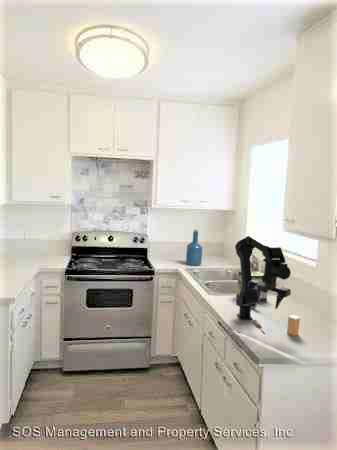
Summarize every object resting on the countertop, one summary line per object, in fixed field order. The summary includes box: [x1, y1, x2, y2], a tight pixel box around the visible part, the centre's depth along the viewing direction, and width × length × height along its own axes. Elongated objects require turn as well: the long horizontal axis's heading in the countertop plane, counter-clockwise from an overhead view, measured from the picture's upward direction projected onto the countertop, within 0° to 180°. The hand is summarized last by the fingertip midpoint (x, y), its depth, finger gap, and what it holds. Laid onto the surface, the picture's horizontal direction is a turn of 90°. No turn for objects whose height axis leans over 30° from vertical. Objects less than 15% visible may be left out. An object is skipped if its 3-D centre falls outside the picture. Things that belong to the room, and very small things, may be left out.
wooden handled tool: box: [251, 319, 266, 335], centre depth 170 cm, size 14×2×2 cm, turn 5°
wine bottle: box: [185, 229, 203, 267], centre depth 307 cm, size 14×13×30 cm
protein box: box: [236, 271, 268, 302], centre depth 220 cm, size 10×16×16 cm
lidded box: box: [286, 314, 301, 337], centre depth 164 cm, size 4×4×8 cm
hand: (266, 305), depth 168 cm, fingers open, 9 cm apart
